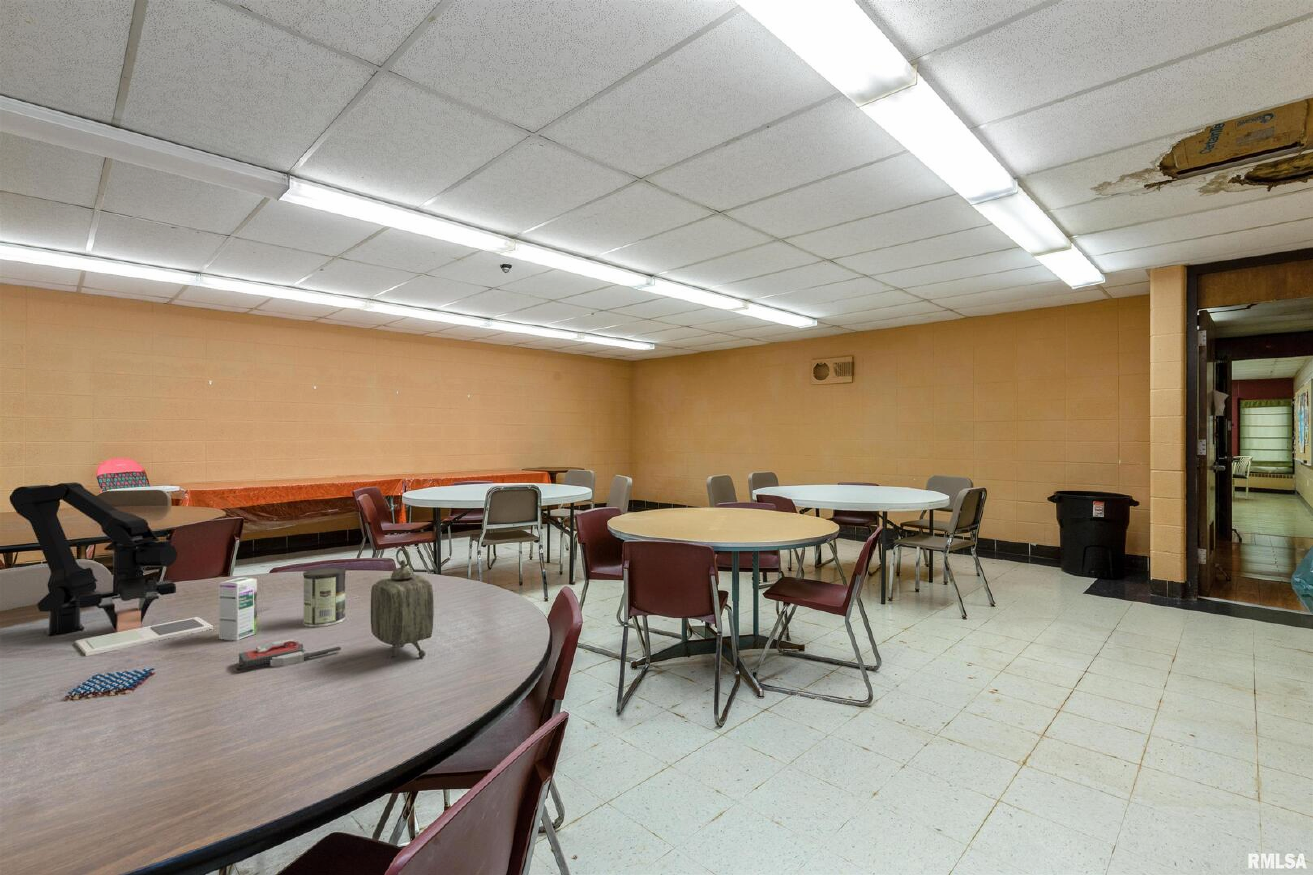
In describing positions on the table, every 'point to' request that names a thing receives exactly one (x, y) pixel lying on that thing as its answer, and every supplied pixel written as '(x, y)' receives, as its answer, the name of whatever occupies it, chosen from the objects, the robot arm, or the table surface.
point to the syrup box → (237, 608)
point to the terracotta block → (128, 619)
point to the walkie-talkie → (277, 655)
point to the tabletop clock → (402, 608)
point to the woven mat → (110, 684)
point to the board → (141, 635)
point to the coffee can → (324, 596)
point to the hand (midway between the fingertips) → (127, 626)
